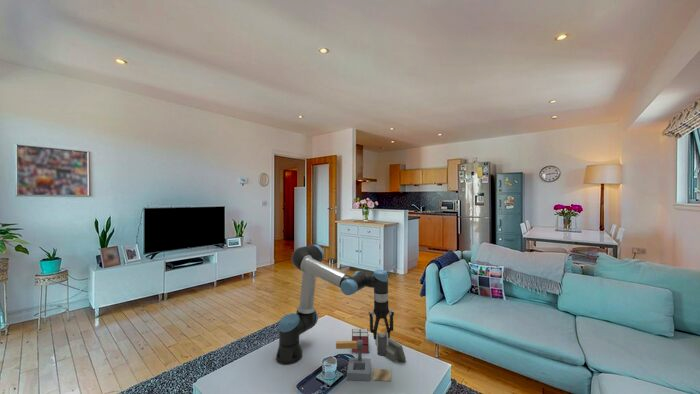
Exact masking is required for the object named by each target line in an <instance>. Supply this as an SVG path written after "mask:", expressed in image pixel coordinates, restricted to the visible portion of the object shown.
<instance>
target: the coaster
mask: <svg viewBox="0 0 700 394" xmlns="http://www.w3.org/2000/svg"><path fill="white" fill-rule="evenodd" d="M372 376H373V377H372V381H374V382H379V381H380V382H392V379H391V377H392V376H391V369H387V368H385V369H383V368H373V372H372Z"/></svg>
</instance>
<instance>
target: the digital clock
mask: <svg viewBox="0 0 700 394" xmlns="http://www.w3.org/2000/svg"><path fill="white" fill-rule="evenodd" d="M386 351H387V354H386V355H385V356H384V357H385V358H387V360H389V361H390V362H392V363H397V362H398V361H401V362H406V360H407V357H406V354H405V352H404V349H403V345H402V344H401V343H400V342H398V341H397V340H394V339H393V338H392V337H390V338H388V345H386Z"/></svg>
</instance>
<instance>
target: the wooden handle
mask: <svg viewBox="0 0 700 394" xmlns="http://www.w3.org/2000/svg"><path fill="white" fill-rule="evenodd" d="M362 348H363V340H357V341H352V340H339V341H338V340H336V341H335V349H336V350H345V349H346V350H348V349H350V350H352V349H362Z"/></svg>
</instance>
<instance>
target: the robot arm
mask: <svg viewBox="0 0 700 394" xmlns="http://www.w3.org/2000/svg"><path fill="white" fill-rule="evenodd" d="M324 258H325V252H324V250H323V248H322V247H321V246H320V245H318V244H310V245H309V244H308V245H306V246H301V247H297V248H296V249H294V251H293V252H292V254H291V262H292V264H293V266H294V267H295V268H296V269H297V270H300V271H301V272H302V275H301V286H300V287H301V288H300V295H299V297H300V298H299V305H298V306H297V307H296V313H295V312H294V313H292V312H291V313H288V314H285V315H283V316H282V317H281V318H280V319H279V323H278V335H279V337H278V341H279V342H278V348H277V352H276V355H275V357H276V358H275V360H276V362H277V363H278V364H281V365H285V366H286V365H293V364H297V362H300V361H301V360H302V358H303V349H302V346H301V343H300V336H301V335H302V334H304V333H306V332H308V331H309V330H311V329H313V327H314V326H315V325H317V324H318V323H317V322H318V320H319V314H318V311H317V309H316V307H315V306H314V301H315V293H316V292H315V291H316V281H317V277H318V278H320V279H322V280H324V281H325V282H328V283H329V284H332V285H334V286H335V287H338V288H340V290H341V292H342V293H343V294H344V295H345V296H351V295H354V294H355V293H357V292H358V291H360V290H362V289H363V288H370V289H371V288H372V289H373V310H372V311H371V312H370V311H369V312H368V316H369V331H370V333H371V334H372V333H373V334H372V335H373V340H375V343H374V344H375V346H376V348H377V347H378V334H379V333H378V327H379V325H380V324H379V322H380V320H381V319H383V321H384V325H385V329H386V330H385V331H384V334H385V335H386V345H388V338H391V335H390V334H391V332H393V331H394V316H395V312H394V311H393V310H392V309H391V310H390V308H389V275H388V271H387V270H385V269H375V270H374V271H373V272H367V271H360V270H357V271H355V272H354V273H353V274H352V276H351V275H348V274H346V273H344V272H342V271H340V270H338V269H337V268H334V267H332V266H330V265H327V264H325V263H323V262H322V261H323V260H324ZM388 315H389V321H388V318H387V316H388ZM374 317H375V320H374Z"/></svg>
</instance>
